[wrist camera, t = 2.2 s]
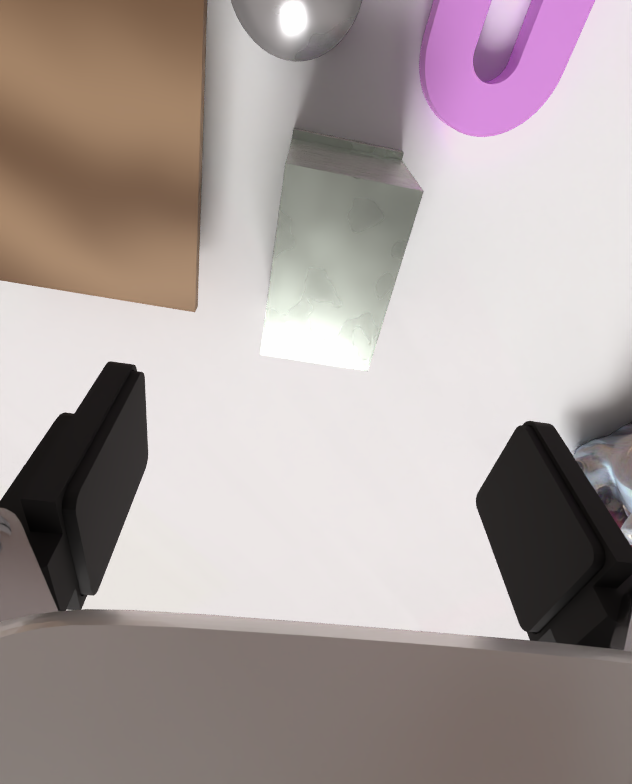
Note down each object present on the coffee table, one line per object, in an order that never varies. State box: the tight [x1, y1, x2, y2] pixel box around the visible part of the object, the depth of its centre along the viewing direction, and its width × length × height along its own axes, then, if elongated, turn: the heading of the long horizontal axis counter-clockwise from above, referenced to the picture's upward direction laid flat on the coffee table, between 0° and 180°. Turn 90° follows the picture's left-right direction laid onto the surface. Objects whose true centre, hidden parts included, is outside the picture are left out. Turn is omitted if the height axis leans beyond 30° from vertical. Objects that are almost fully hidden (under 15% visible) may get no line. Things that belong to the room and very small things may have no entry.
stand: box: [0, 0, 207, 312], centre depth 19 cm, size 12×12×3 cm
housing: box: [260, 128, 423, 371], centre depth 21 cm, size 9×5×6 cm, turn 169°
